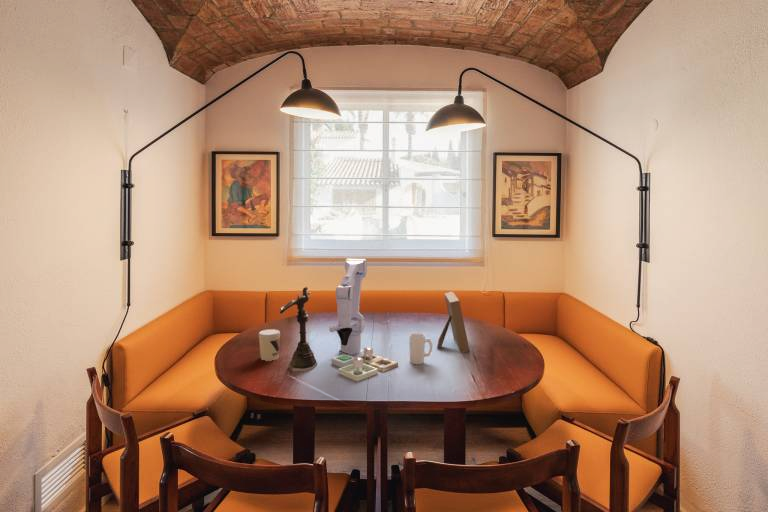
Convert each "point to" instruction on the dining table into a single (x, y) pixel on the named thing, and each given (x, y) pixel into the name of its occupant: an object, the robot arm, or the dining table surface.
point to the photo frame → (455, 323)
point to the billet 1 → (358, 366)
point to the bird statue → (301, 337)
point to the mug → (418, 348)
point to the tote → (367, 372)
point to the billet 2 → (368, 353)
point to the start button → (344, 358)
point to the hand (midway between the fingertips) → (344, 344)
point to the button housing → (342, 363)
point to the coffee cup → (269, 344)
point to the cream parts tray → (378, 360)
